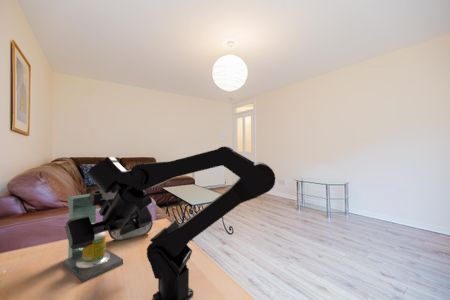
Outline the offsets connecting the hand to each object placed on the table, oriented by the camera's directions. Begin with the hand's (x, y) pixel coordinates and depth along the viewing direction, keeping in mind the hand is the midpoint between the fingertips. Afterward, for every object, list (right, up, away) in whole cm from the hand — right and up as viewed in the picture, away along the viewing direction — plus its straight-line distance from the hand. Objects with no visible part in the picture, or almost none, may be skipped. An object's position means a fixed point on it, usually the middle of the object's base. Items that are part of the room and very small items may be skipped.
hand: (103, 239), depth 53 cm
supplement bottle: (-4, -7, +3) cm, 9 cm away
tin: (-2, -9, +20) cm, 22 cm away
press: (-9, -8, +6) cm, 13 cm away
